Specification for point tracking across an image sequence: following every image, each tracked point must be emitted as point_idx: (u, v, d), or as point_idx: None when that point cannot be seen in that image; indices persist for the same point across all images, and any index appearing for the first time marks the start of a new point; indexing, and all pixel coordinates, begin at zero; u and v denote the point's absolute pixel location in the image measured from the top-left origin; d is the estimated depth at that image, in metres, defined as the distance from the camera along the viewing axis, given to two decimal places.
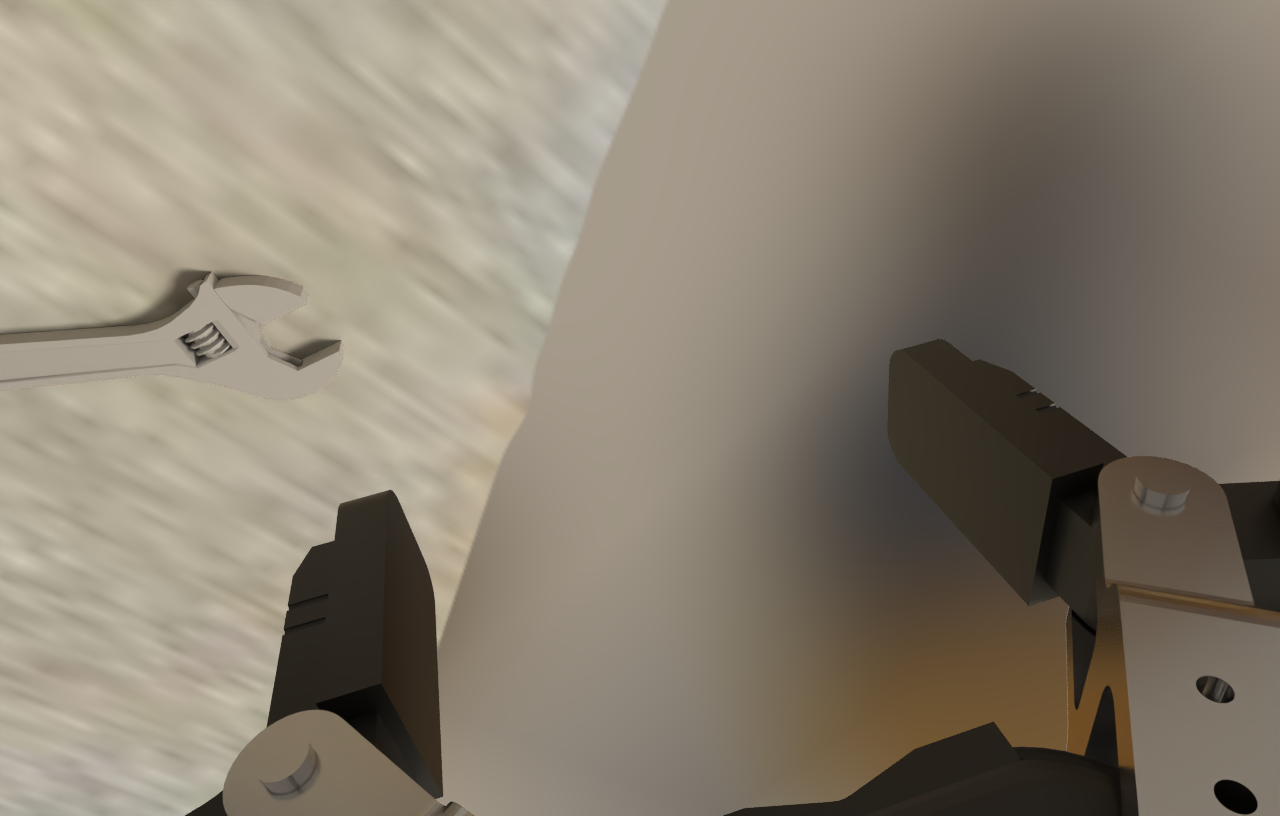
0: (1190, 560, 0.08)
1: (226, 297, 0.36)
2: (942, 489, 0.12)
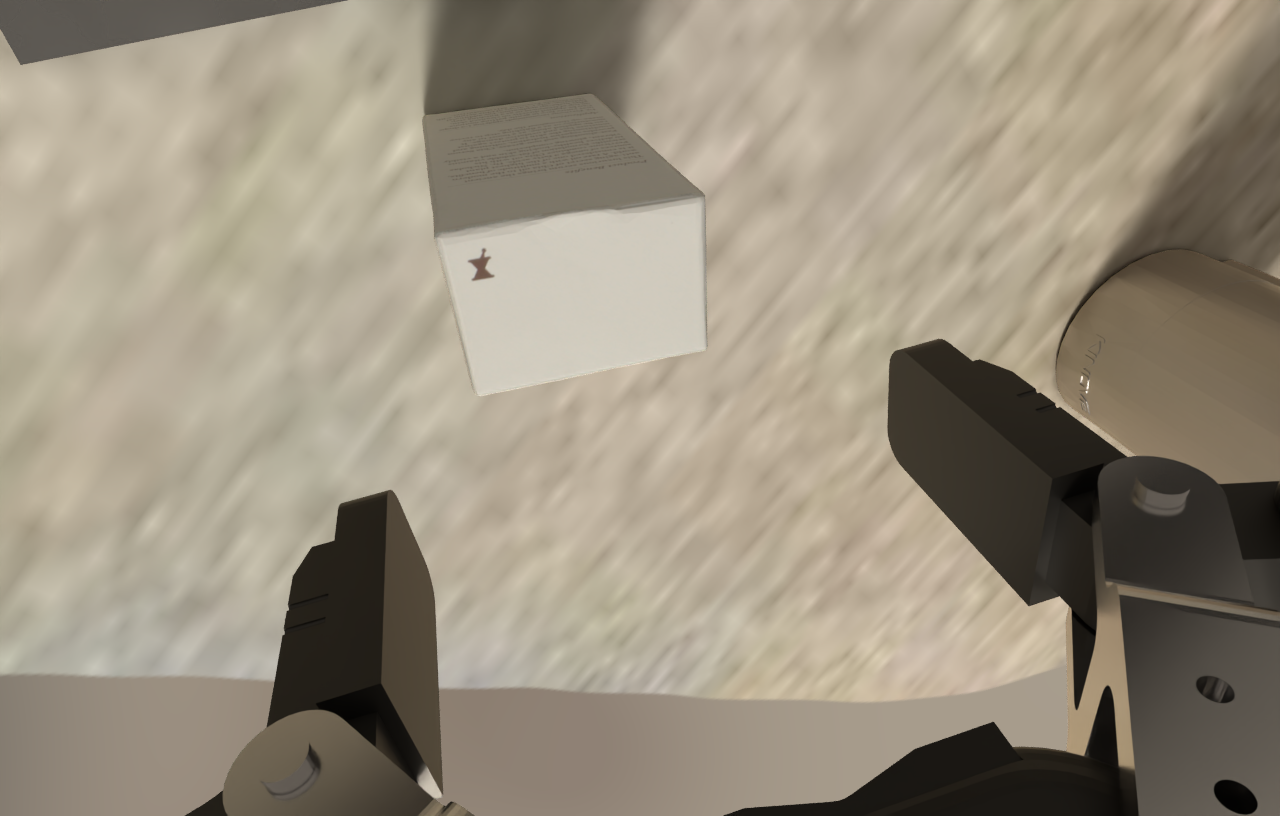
0: (1190, 560, 0.08)
1: None
2: (942, 489, 0.12)
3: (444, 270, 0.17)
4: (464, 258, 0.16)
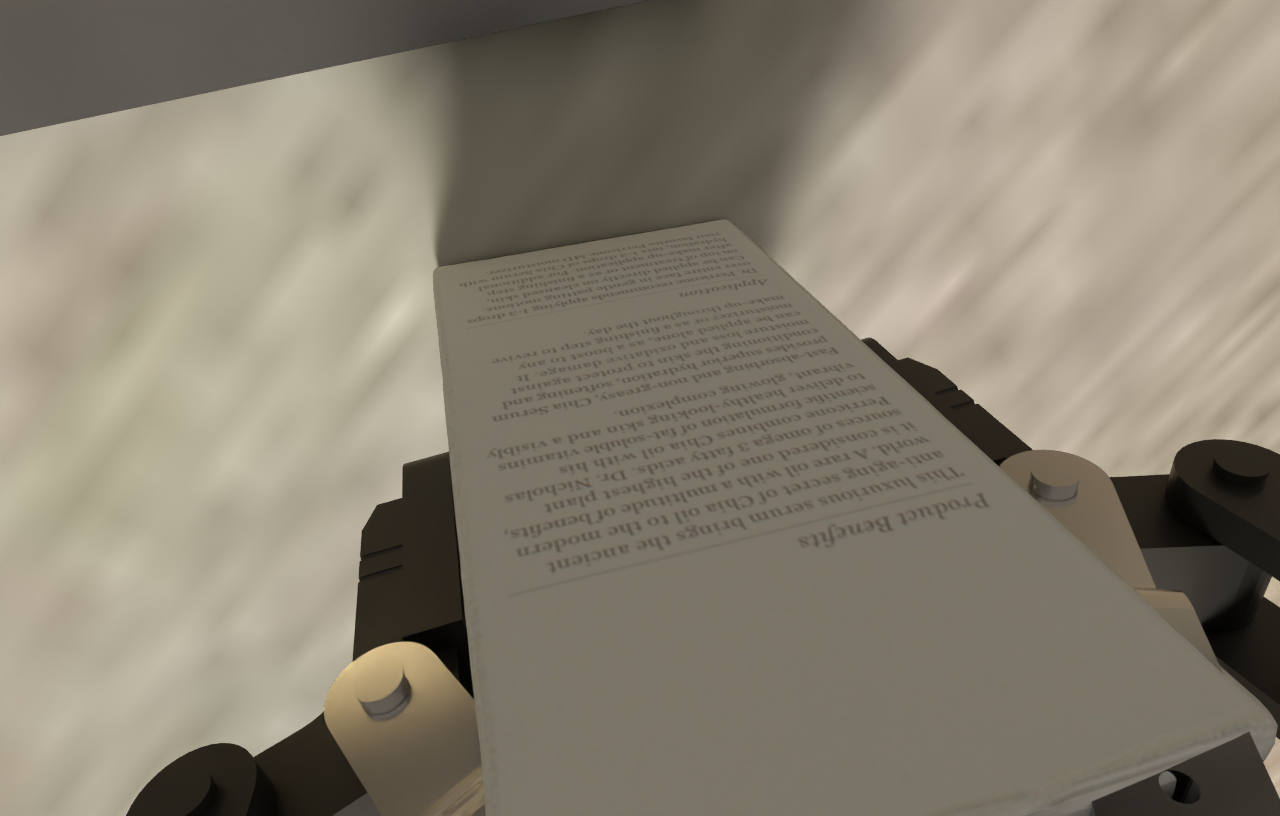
0: (1091, 548, 0.08)
1: None
2: None
3: None
4: None
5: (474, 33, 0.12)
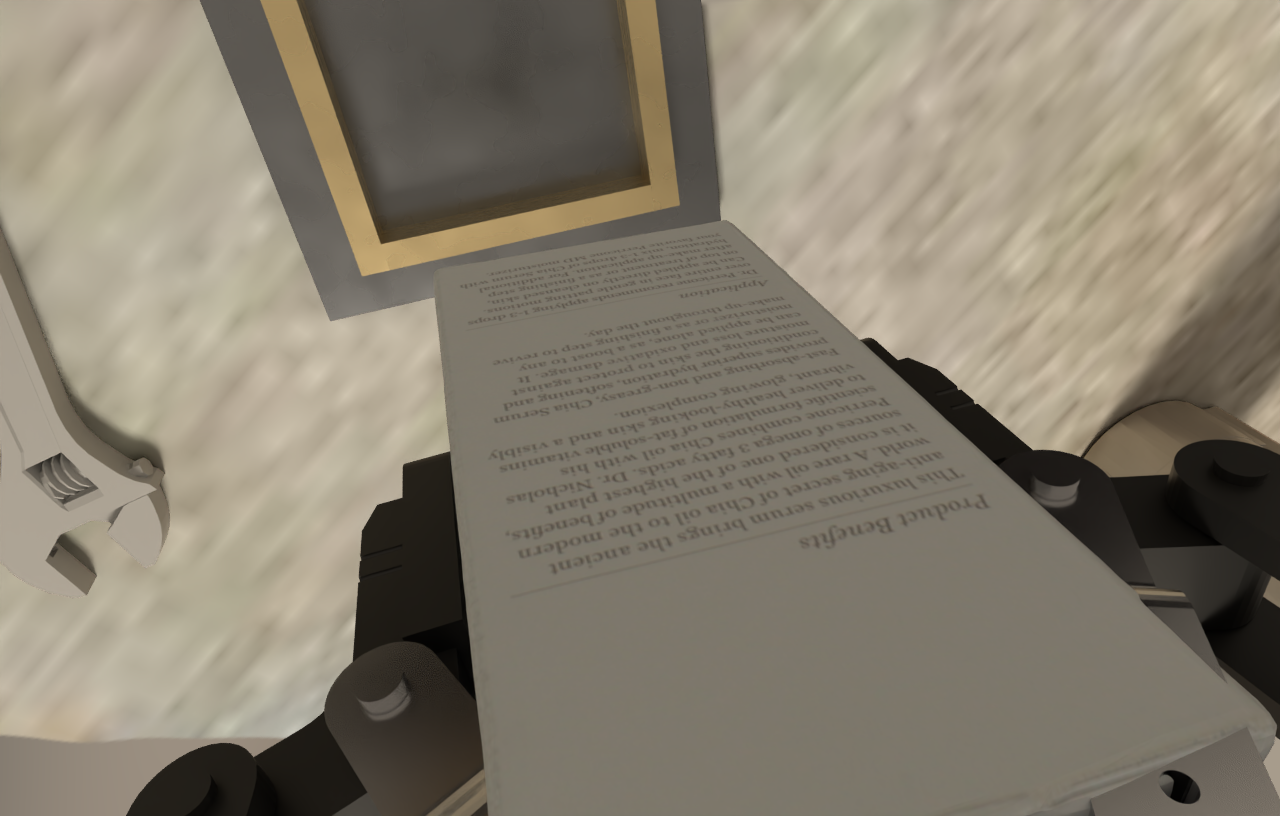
0: (1092, 548, 0.08)
1: (138, 504, 0.32)
2: None
3: None
4: None
5: None
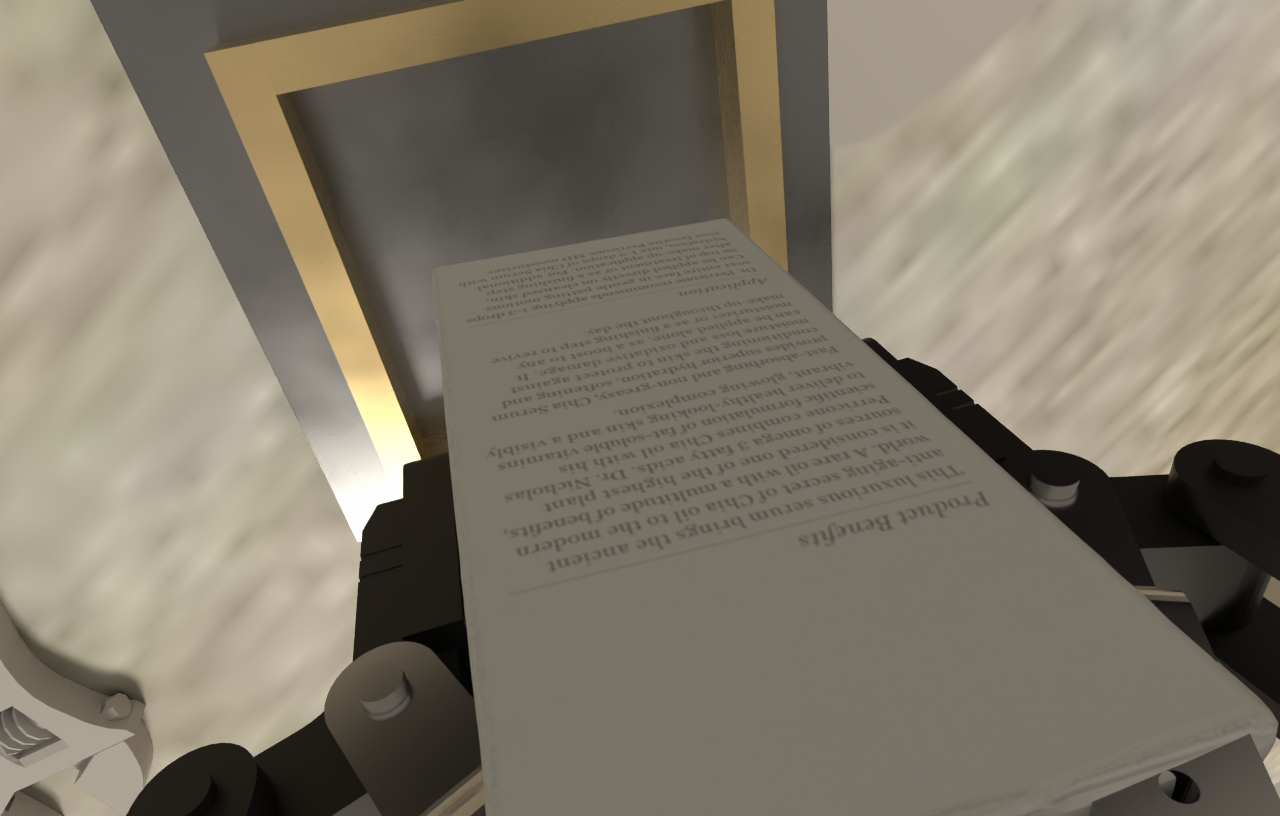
0: None
1: (112, 752, 0.26)
2: None
3: None
4: None
5: None
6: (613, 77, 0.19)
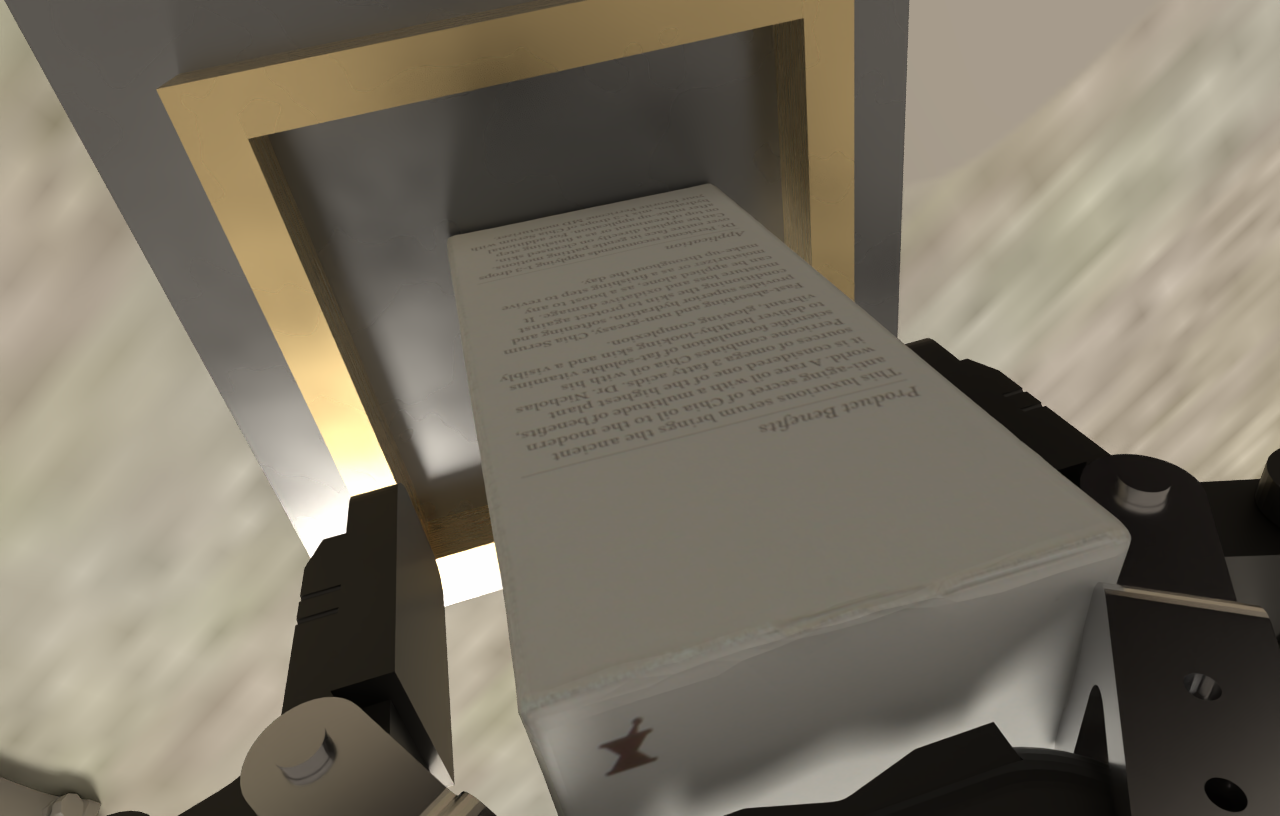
0: (1174, 557, 0.08)
1: None
2: None
3: (542, 765, 0.07)
4: (589, 742, 0.07)
5: None
6: (655, 109, 0.16)
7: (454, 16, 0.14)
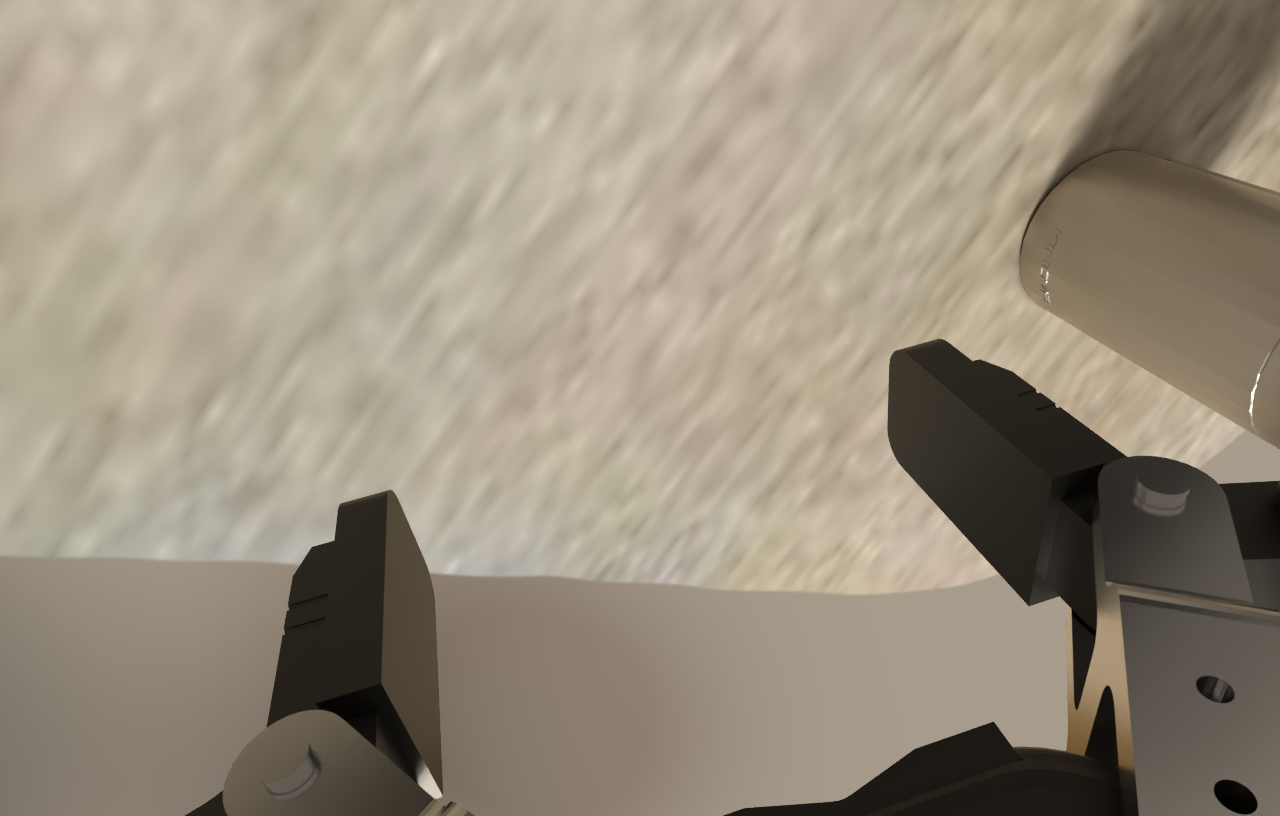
0: (1190, 560, 0.08)
1: None
2: (942, 489, 0.12)
3: None
4: None
5: None
6: None
7: None
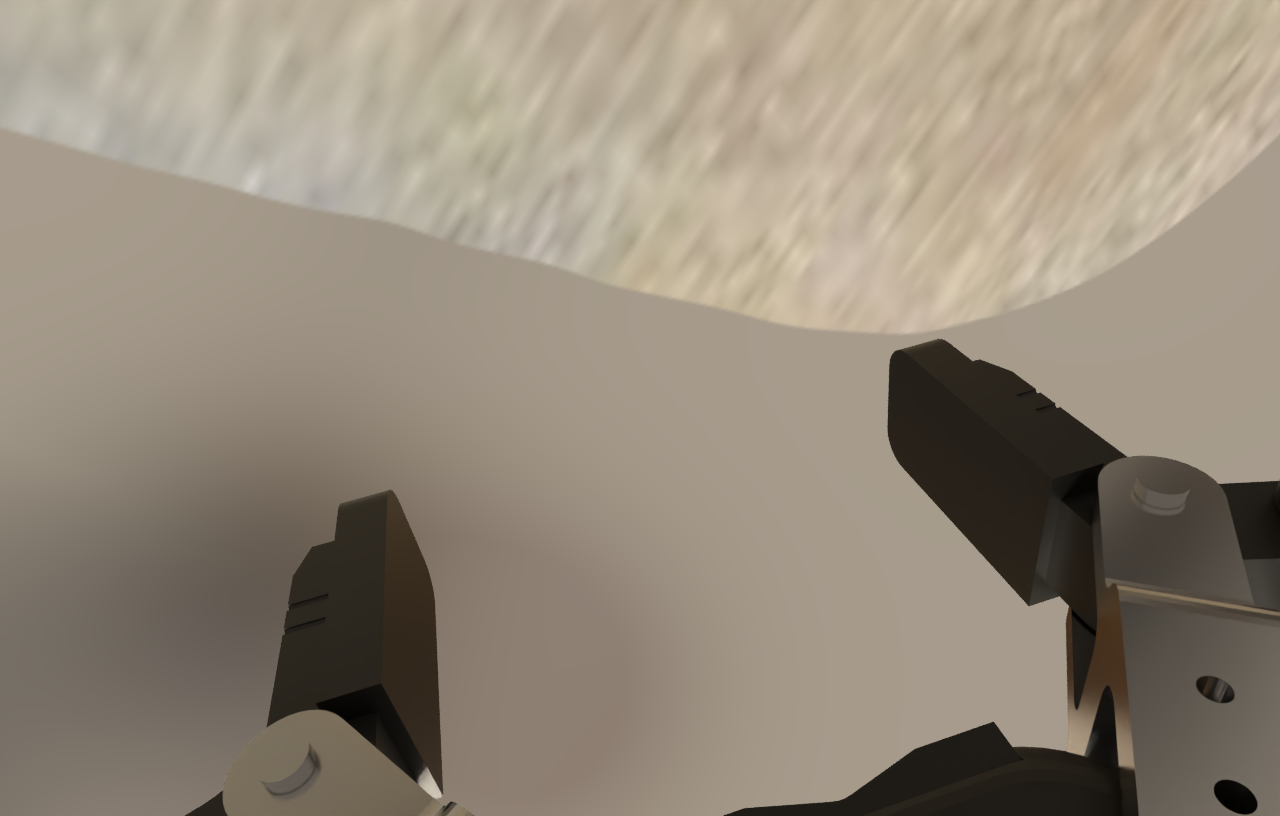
0: (1189, 560, 0.08)
1: None
2: (942, 489, 0.12)
3: None
4: None
5: None
6: None
7: None
